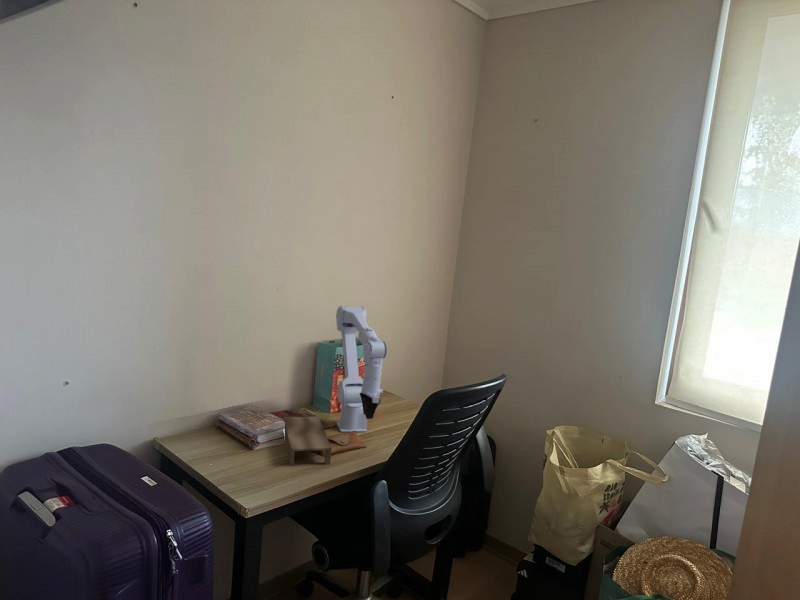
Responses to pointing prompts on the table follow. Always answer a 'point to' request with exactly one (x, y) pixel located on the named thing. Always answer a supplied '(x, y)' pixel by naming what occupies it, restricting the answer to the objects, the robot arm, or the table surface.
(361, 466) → the table surface
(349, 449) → the sunglasses case
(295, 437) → the miniature wooden table
